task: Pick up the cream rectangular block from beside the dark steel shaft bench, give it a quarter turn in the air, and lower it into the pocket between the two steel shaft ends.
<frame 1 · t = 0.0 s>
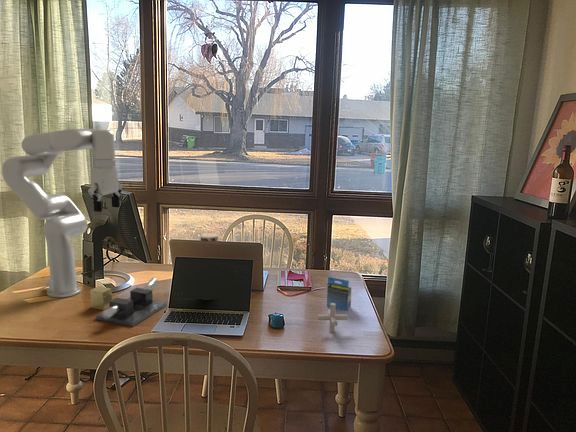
hand: (107, 209, 179), 37 cm above the table, tool pointing down, fingers open, 9 cm apart
cream rectangular block: (101, 306, 180), on the table
paper tube: (209, 294, 196), on the table
label tape box: (338, 307, 185), on the table
pipe connector: (331, 331, 164), on the table
shaft bench: (132, 312, 176), on the table
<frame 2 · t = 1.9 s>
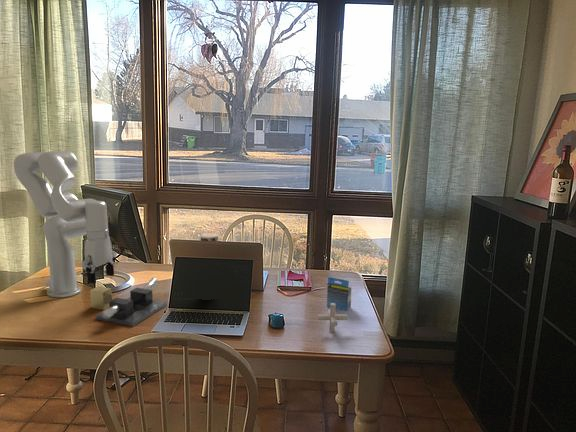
hand: (101, 279, 178), 11 cm above the table, tool pointing down, fingers open, 9 cm apart
nothing on the table moved.
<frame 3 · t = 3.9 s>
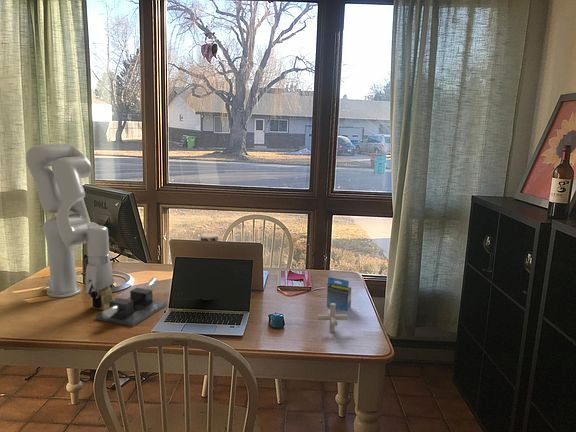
hand: (101, 304, 180), 1 cm above the table, tool pointing down, fingers closed on cream rectangular block, 4 cm apart
cream rectangular block: (101, 306, 180), on the table, touching gripper
everything else where it was.
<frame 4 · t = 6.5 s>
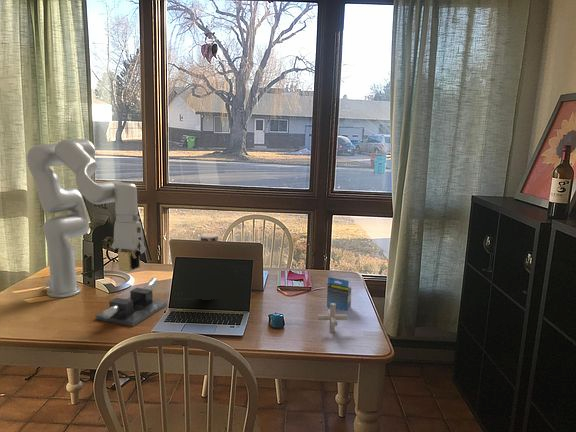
hand: (129, 266, 172), 18 cm above the table, tool pointing down, fingers closed on cream rectangular block, 4 cm apart
cream rectangular block: (129, 268, 172), point 17 cm above the table, touching gripper
everything else where it was.
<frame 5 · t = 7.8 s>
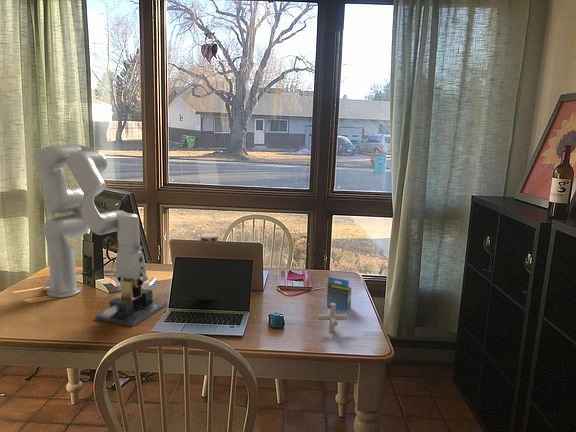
hand: (131, 295, 174), 7 cm above the table, tool pointing down, fingers closed on cream rectangular block, 4 cm apart
cream rectangular block: (131, 297, 174), point 6 cm above the table, touching gripper
everything else where it was.
when the fingers open (2 cm above the table, at t = 9.1 s): cream rectangular block drops 2 cm, resting in shaft bench.
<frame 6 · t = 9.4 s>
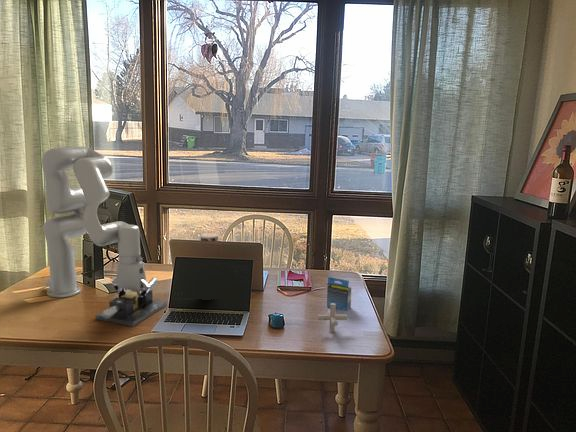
hand: (131, 304, 175), 3 cm above the table, tool pointing down, fingers open, 7 cm apart
cream rectangular block: (132, 312, 176), resting in shaft bench
everything else where it was.
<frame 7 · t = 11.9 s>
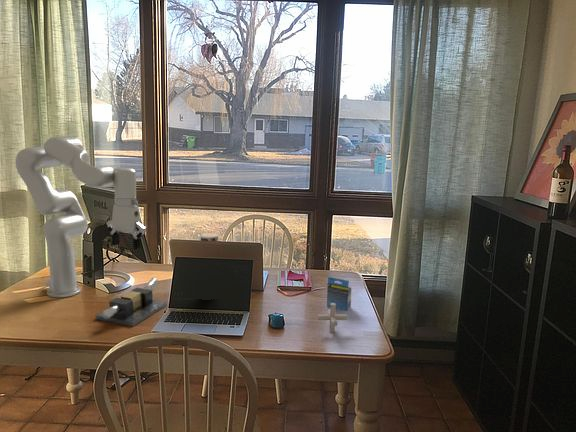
hand: (126, 246, 178), 23 cm above the table, tool pointing down, fingers open, 9 cm apart
nothing on the table moved.
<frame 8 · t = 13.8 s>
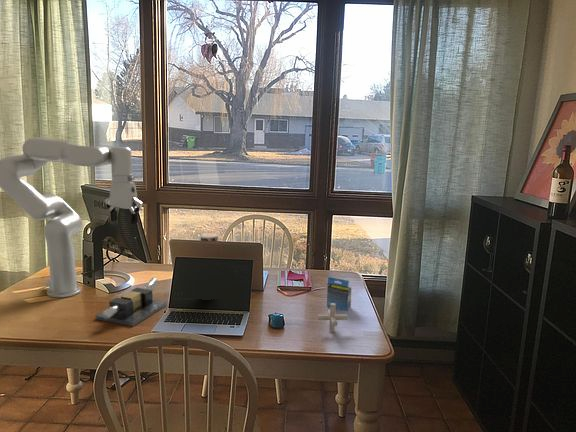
hand: (124, 222, 187), 30 cm above the table, tool pointing down, fingers open, 9 cm apart
nothing on the table moved.
at the end: cream rectangular block 0.1 cm off-centre on the shaft bench, point 0.0 cm above the shaft bench's base; cream rectangular block tilted 0°; the gripper is holding nothing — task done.
